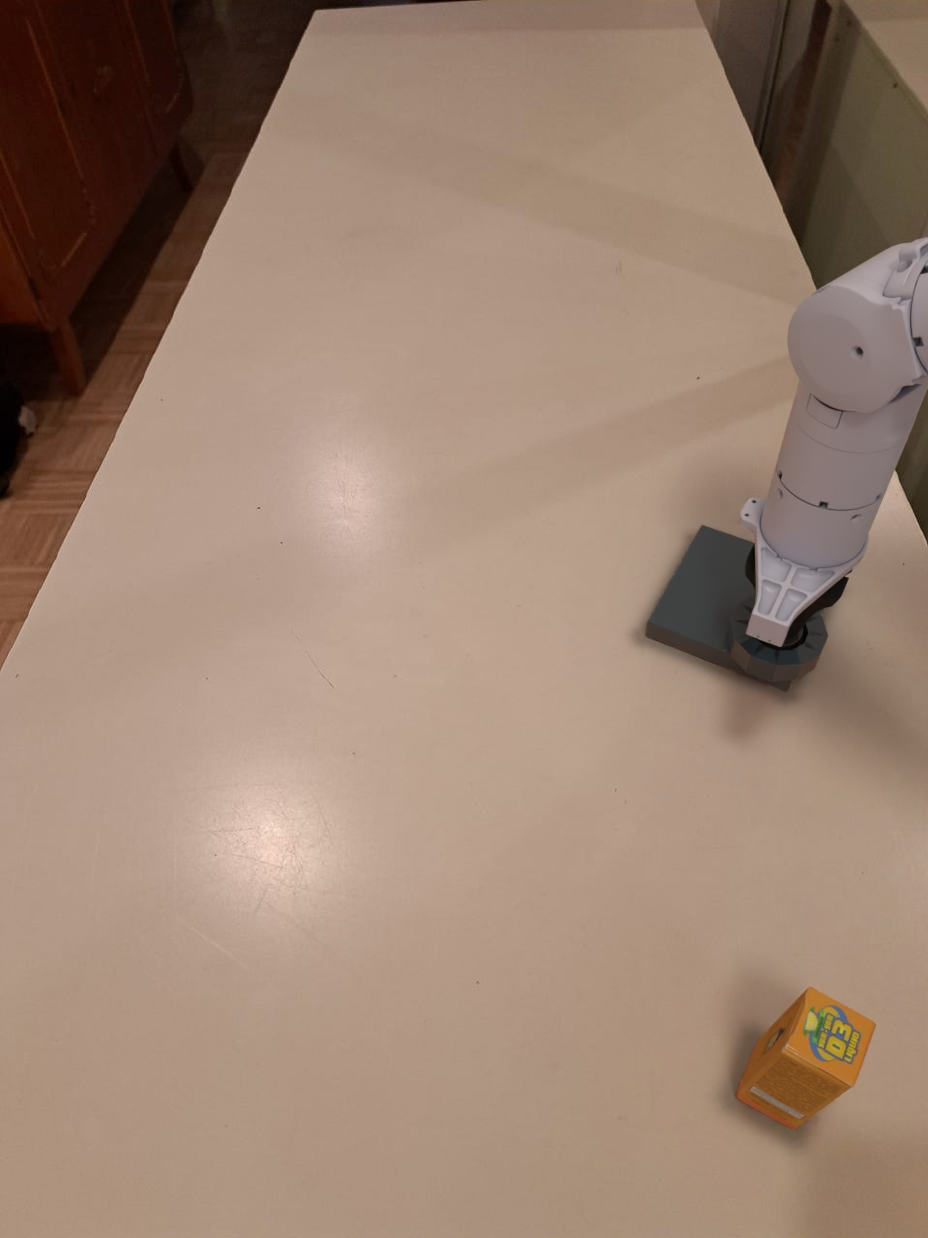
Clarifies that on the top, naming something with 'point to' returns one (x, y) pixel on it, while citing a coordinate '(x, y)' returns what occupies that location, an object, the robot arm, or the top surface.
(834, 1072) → the supplement box
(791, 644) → the dark brown short cylinder
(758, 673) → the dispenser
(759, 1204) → the top surface
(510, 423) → the top surface
